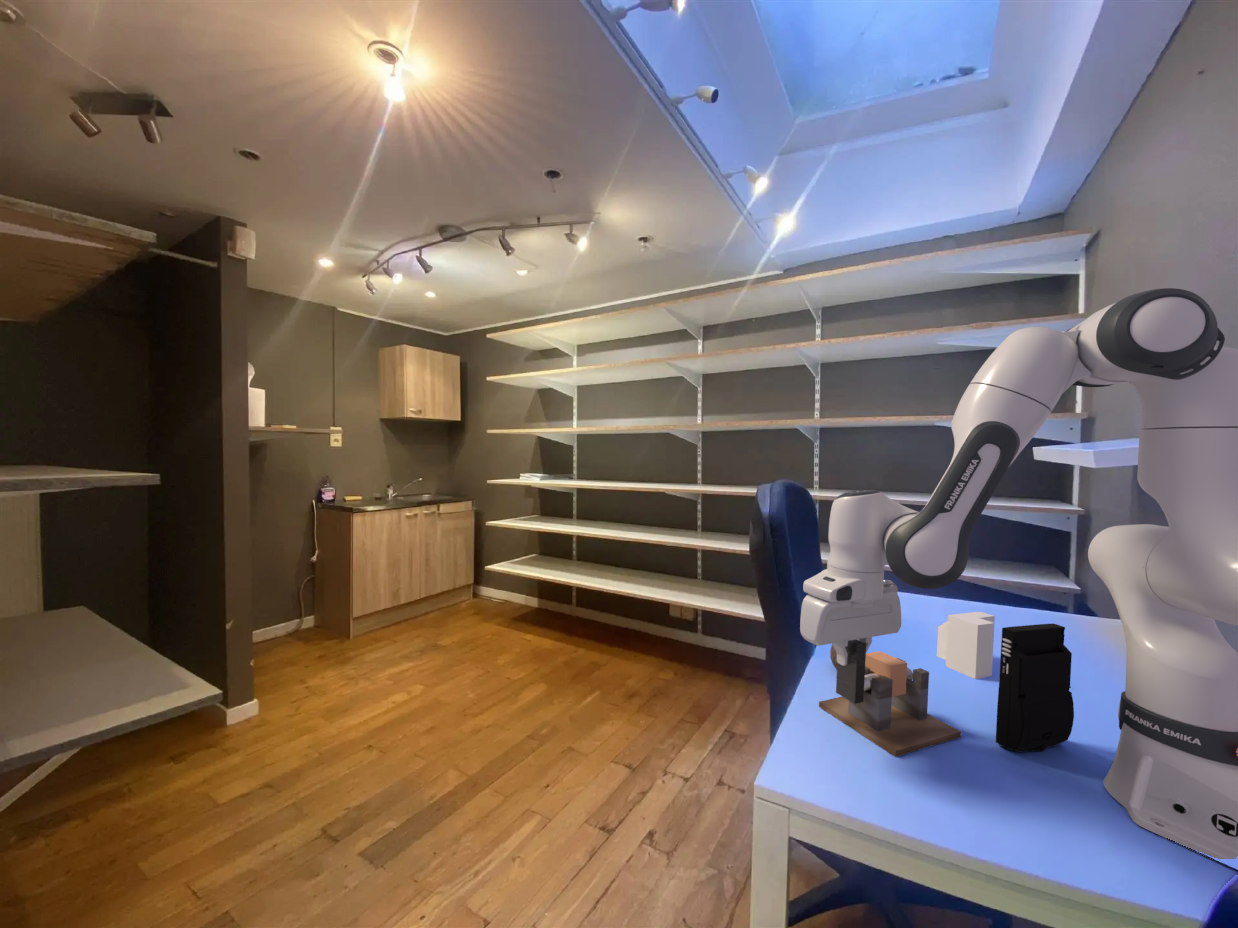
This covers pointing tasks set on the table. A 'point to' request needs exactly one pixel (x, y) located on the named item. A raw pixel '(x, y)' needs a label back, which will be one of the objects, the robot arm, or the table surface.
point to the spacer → (888, 670)
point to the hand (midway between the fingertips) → (851, 662)
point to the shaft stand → (894, 715)
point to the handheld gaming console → (1034, 688)
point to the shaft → (856, 674)
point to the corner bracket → (967, 643)
